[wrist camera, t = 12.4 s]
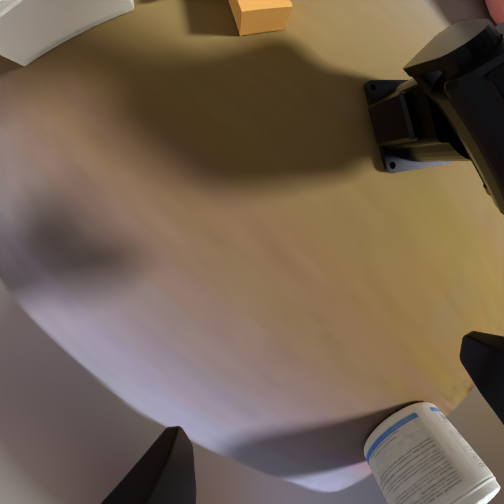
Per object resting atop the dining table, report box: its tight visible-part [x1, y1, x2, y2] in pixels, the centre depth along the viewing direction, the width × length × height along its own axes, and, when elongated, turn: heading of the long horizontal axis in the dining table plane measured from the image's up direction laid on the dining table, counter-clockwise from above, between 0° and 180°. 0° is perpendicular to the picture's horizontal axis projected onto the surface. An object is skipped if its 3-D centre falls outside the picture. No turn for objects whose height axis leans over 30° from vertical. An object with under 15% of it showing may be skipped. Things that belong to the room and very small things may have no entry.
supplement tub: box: [364, 402, 500, 504], centre depth 17 cm, size 10×10×15 cm
